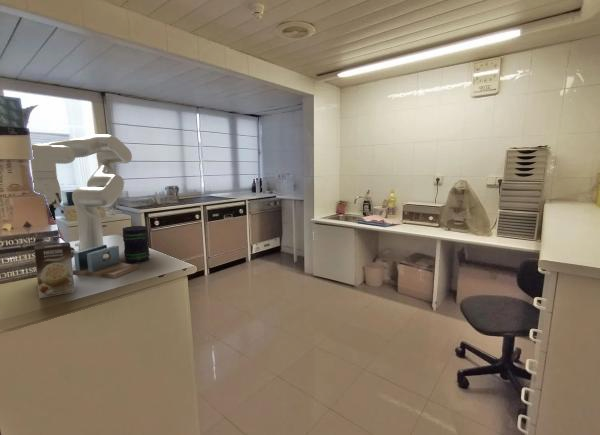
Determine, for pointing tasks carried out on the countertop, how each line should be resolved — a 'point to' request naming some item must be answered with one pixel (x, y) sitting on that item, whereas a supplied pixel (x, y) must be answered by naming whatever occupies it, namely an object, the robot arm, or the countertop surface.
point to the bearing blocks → (96, 258)
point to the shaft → (105, 256)
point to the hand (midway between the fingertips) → (50, 220)
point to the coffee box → (54, 269)
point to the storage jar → (135, 244)
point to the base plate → (109, 270)
